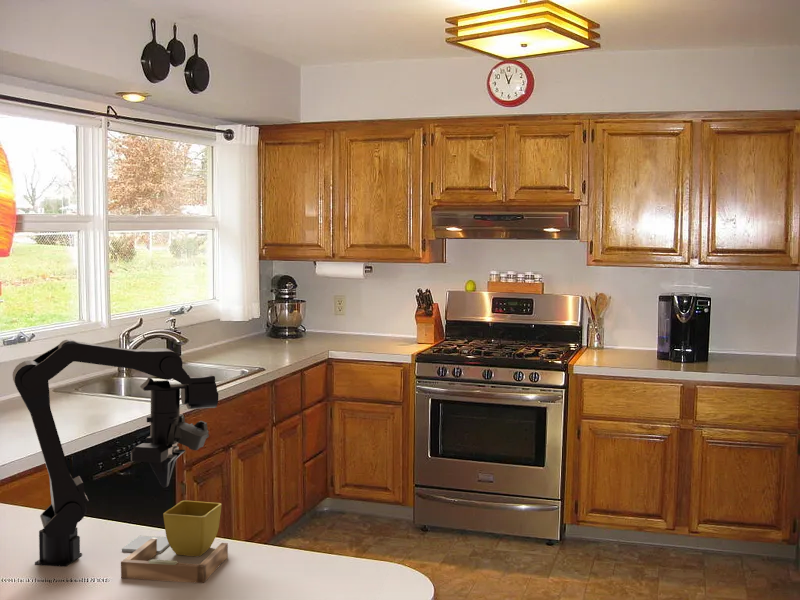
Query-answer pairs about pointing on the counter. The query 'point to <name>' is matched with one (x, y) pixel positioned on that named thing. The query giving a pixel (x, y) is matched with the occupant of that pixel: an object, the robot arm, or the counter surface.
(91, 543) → the counter surface
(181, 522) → the flower pot
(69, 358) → the robot arm
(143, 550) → the wooden tray frame
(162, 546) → the tile
